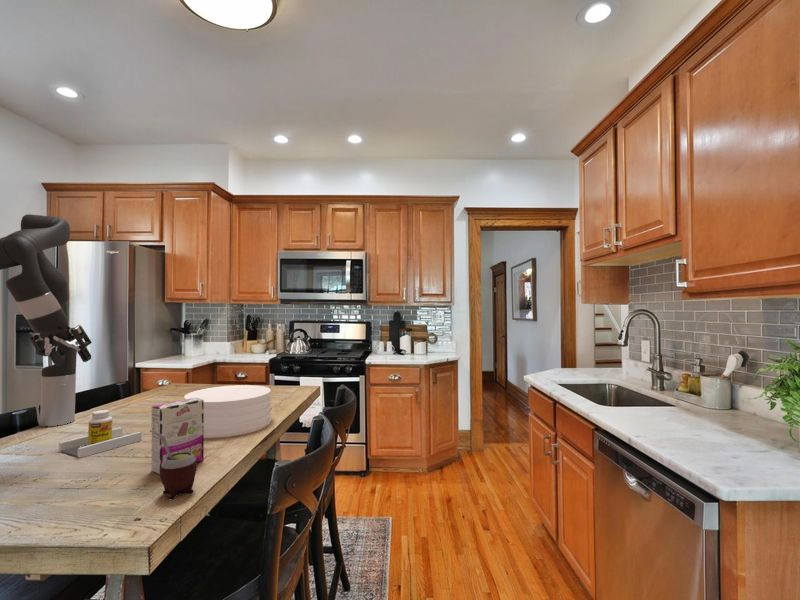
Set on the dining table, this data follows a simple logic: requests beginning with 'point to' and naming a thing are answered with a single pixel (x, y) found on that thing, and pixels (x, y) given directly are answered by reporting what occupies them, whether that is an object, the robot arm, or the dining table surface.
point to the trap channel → (97, 444)
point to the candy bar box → (178, 430)
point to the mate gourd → (177, 471)
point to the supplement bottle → (100, 427)
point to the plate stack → (234, 409)
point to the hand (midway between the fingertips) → (74, 362)
